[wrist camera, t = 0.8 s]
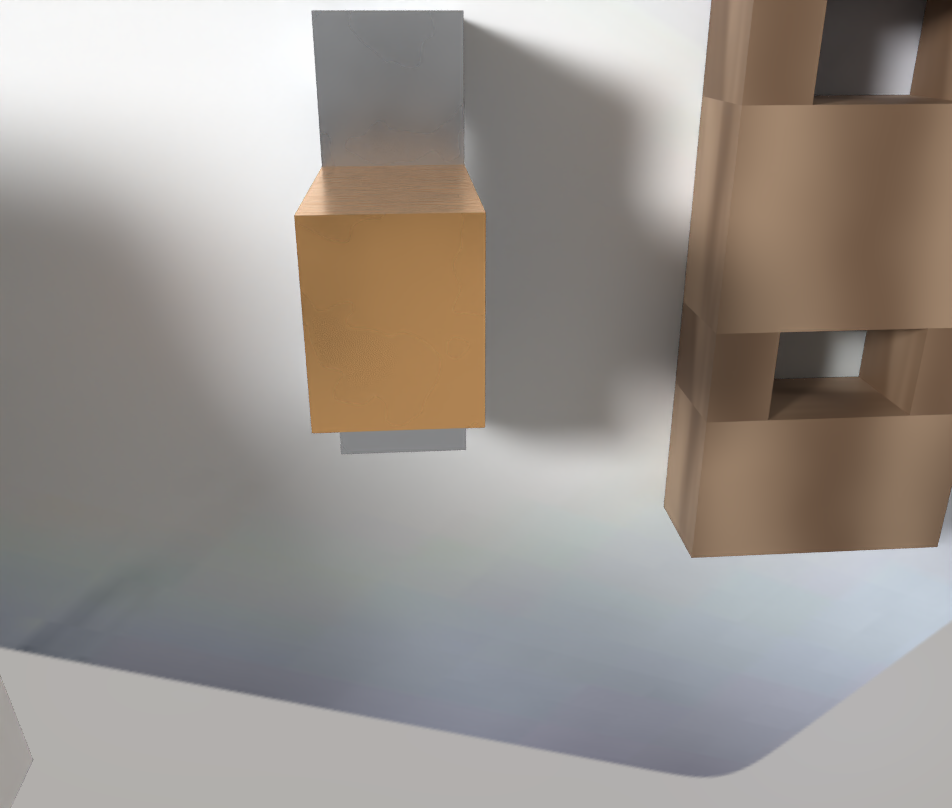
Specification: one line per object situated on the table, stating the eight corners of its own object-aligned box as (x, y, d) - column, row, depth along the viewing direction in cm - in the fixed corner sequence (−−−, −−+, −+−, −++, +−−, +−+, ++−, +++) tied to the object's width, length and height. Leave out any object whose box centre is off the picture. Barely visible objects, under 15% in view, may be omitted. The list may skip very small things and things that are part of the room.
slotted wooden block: (663, 506, 38) (691, 557, 35) (731, -211, 28) (781, -246, 24) (886, 497, 39) (937, 546, 35) (1032, -206, 29) (1124, -239, 25)
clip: (352, 375, 35) (323, 579, 22) (331, 13, 30) (276, 4, 17) (454, 372, 35) (484, 572, 22) (450, 13, 30) (486, 4, 17)
